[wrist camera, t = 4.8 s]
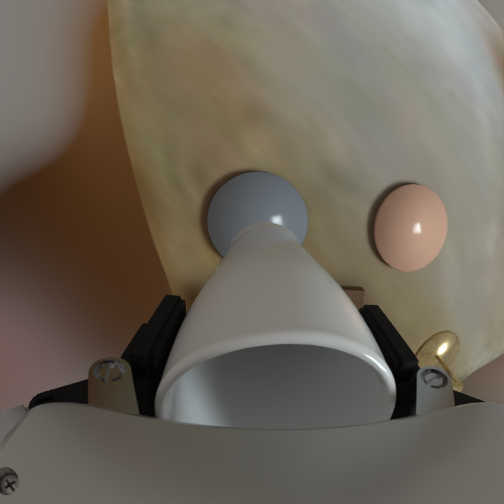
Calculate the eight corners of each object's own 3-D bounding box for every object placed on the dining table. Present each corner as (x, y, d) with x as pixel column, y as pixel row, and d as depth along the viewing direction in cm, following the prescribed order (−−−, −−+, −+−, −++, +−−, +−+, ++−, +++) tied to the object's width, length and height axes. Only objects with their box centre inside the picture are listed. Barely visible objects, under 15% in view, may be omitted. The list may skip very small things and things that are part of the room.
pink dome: (379, 177, 33) (382, 177, 32) (448, 191, 33) (452, 192, 32) (366, 266, 36) (368, 269, 35) (434, 270, 36) (437, 273, 35)
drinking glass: (201, 235, 20) (100, 378, 6) (288, 193, 19) (373, 275, 5) (243, 311, 22) (227, 493, 8) (324, 276, 21) (408, 441, 7)
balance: (235, 280, 37) (218, 374, 20) (425, 289, 37) (496, 355, 20) (233, 331, 40) (219, 433, 22) (411, 333, 40) (466, 408, 22)
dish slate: (210, 169, 33) (209, 169, 32) (310, 176, 33) (312, 176, 32) (207, 263, 37) (206, 266, 36) (300, 270, 37) (301, 273, 36)
